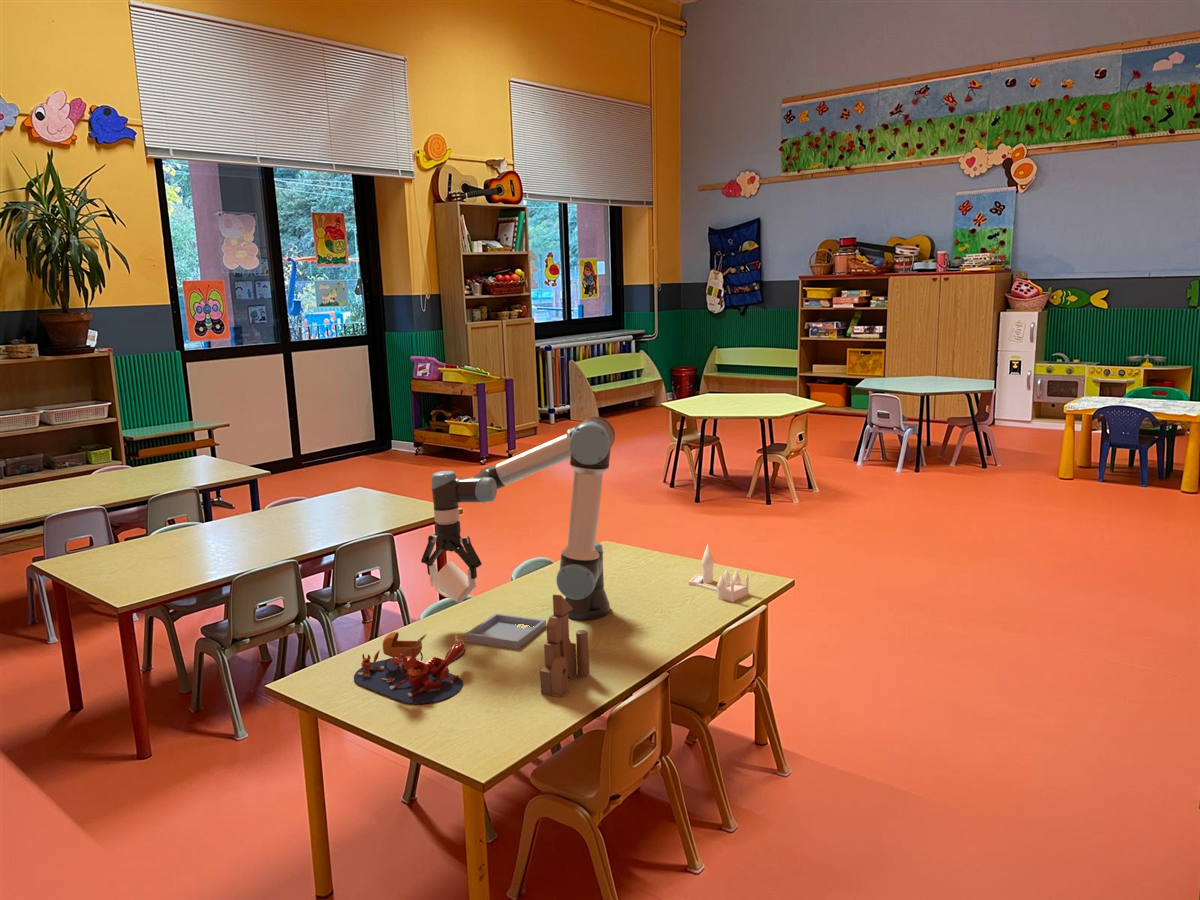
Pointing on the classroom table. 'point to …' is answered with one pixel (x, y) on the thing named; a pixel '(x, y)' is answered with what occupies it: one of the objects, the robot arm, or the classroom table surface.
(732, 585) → the toy castle
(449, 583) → the mug
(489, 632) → the tray
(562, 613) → the wooden toy
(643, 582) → the classroom table surface
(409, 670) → the toy playset
